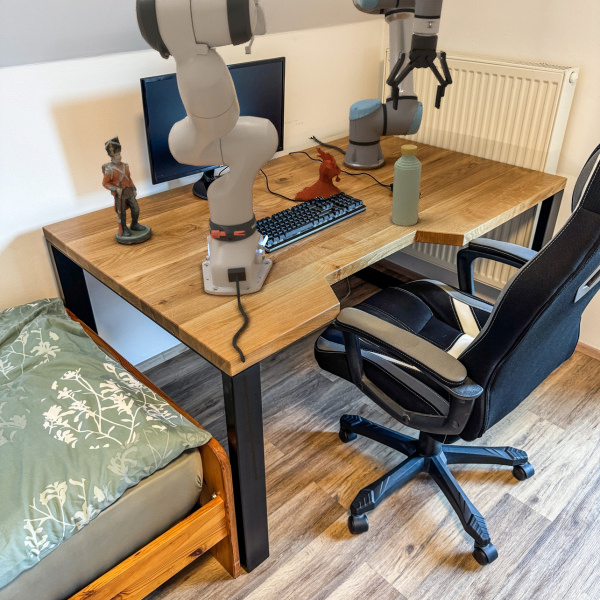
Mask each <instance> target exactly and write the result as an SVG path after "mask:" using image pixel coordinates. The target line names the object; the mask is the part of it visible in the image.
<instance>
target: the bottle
mask: <svg viewBox="0 0 600 600" xmlns="http://www.w3.org/2000/svg"><path fill="white" fill-rule="evenodd" d="M422 167H423V166H422V162H421V161H420V160H419V159H418V157H417V156H416V155H411V156H407V155H403V154H402V155H401V157H399V158H398V159H397V160H396V161H395V163H394V165H393V183H392V184H393V185H392V204H391V222H392V224H394V225H397V226H402V227H410V226H414V225H416V224H417V223H418V219H419V206H420V205H419V204H420V193H421V182H422Z"/></svg>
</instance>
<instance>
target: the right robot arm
mask: <svg viewBox="0 0 600 600" xmlns="http://www.w3.org/2000/svg"><path fill="white" fill-rule="evenodd" d="M352 3H353V6H354V8H356V10H358V11H359V12H361V13H364V14H368V15H374V16H378V15H384V21H385V22H386V24H387V25H388V42H389V43H388V48H389V51H388V52H389V53H388V54H389V74H388V76H387V78H386V81H385V84H386V85H387V86H389V94H388V95H387V96H386V98H385V103H382V100H381V99H379V98H365V99H360V100H357V101H355V102H353V103H352V104H351V105H350V107H349V111H348V112H349V113H348V121H349V122H348V126H349V127H348V146H347V148H346V151H344V150H343V149H342V148H340V147H338V146H336V145H333V144H328V143H325V142H322V141H321V140H319V139H318V138H317V137H316V136H315V135H312V136H313V138H312V137H311V136H310V140H314V141H315V142H316V143H318V144H319V145H321V146H324V147H327V148H331V149H335V150H338V151H339V152H341V153H342V154H343V155H345V156H344V157H343V165H344V166H345V167H347V168H348V169H352V170H357V171H368V170H376V169H379V168H381V167H383V166H384V164H385V158H384V154H383V153H384V152H383V149H382V147H381V137H395V136H396V137H398V136H404V137H406V136H413V135H416V134H417V133H418V132H419V130H420V127H421V125H422V121H423V114H424V107H423V102H422V101H420V100H419V96H418V95H417V94H416V93H415V91H414V69H428V68H429V69H430V70H431V72H432V74H433V75H434V77H435V78H436V80H437V81H438V83H439V84H437V85H436V93H435V101H434V108H435V109H436V110H440V109H441V102H442V98H444V97H445V93H446V88H447V87H448V86H449V85H452V84H453V82H454V81H453V78H452V76H451V72H450V71H451V70H450V68H449V66H448V61H447V52H446V51H444V50H440V51H438V52H437V48H438V41H439V36H438V33H440V26H441V25H440V24H441V17H442V11H443V3H444V0H352ZM436 59H438V60H439V63H440V67H441V70H442V74H443V76H444V77H443V76H442V74H441V73H440V71H439V70H438V68H437V66H436V64H435V63H434V61H435V60H436Z"/></svg>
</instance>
